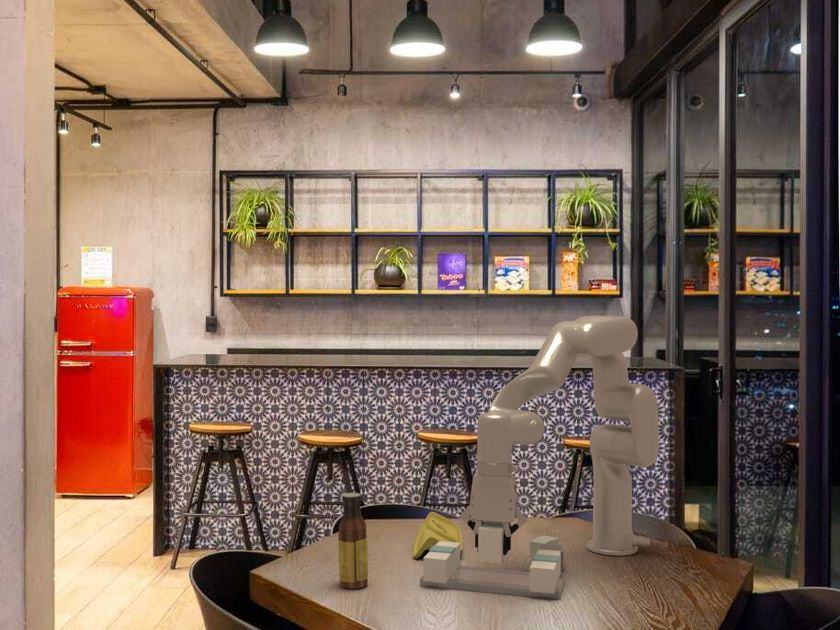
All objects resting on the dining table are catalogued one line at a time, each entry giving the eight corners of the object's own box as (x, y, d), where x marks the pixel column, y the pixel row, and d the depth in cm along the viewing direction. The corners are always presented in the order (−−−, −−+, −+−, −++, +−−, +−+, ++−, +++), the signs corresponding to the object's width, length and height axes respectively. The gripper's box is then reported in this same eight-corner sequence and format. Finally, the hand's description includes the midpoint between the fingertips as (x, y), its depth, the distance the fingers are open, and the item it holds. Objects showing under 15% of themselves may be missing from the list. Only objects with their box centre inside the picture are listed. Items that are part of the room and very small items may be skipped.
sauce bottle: (366, 580, 184) (367, 490, 185) (369, 589, 178) (370, 496, 178) (336, 581, 183) (337, 491, 183) (338, 591, 177) (339, 497, 177)
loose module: (507, 553, 186) (507, 520, 186) (501, 563, 178) (501, 529, 178) (484, 551, 187) (485, 519, 187) (477, 561, 180) (478, 527, 180)
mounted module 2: (560, 573, 186) (561, 549, 186) (554, 593, 172) (554, 567, 172) (538, 571, 187) (538, 547, 187) (529, 591, 174) (529, 565, 174)
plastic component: (462, 552, 200) (425, 533, 200) (449, 578, 200) (411, 560, 200) (460, 525, 219) (426, 508, 219) (448, 549, 220) (414, 533, 220)
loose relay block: (560, 565, 197) (561, 544, 197) (562, 573, 191) (563, 552, 191) (539, 565, 198) (539, 544, 198) (541, 572, 192) (541, 551, 192)
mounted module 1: (460, 564, 192) (460, 541, 192) (446, 583, 178) (446, 558, 178) (438, 562, 193) (438, 539, 193) (423, 581, 180) (423, 556, 180)
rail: (564, 582, 185) (564, 575, 185) (559, 599, 173) (559, 592, 173) (433, 570, 193) (433, 563, 193) (420, 586, 181) (420, 579, 181)
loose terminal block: (557, 553, 207) (557, 537, 207) (544, 560, 202) (544, 543, 202) (543, 551, 210) (543, 535, 210) (529, 557, 204) (529, 541, 204)
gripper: (535, 468, 184) (533, 551, 184) (459, 464, 189) (458, 544, 189) (530, 474, 177) (529, 560, 177) (452, 469, 182) (451, 553, 181)
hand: (492, 551), depth 183 cm, fingers closed on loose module, 5 cm apart
